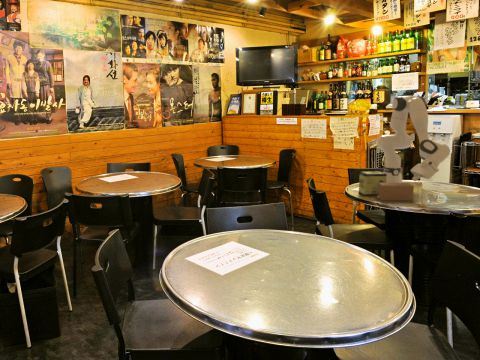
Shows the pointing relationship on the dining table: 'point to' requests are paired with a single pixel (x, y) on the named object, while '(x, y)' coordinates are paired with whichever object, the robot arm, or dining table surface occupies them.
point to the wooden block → (396, 191)
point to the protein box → (370, 182)
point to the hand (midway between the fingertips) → (413, 180)
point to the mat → (393, 201)
